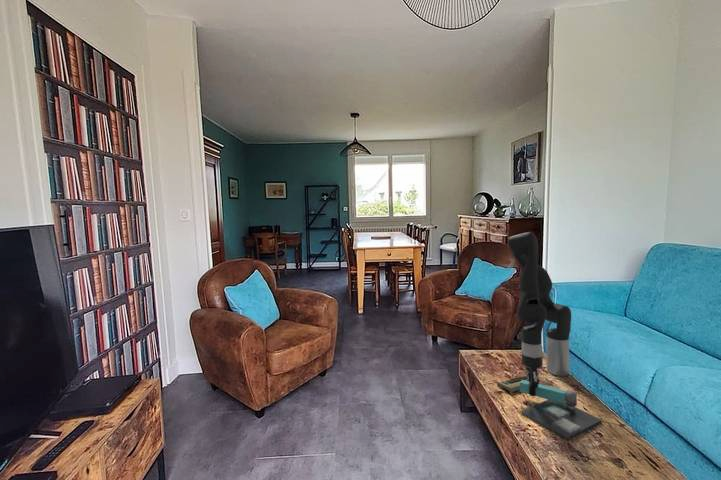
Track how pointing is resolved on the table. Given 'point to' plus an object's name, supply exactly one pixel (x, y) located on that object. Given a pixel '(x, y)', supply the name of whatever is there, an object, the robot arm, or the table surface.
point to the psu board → (561, 418)
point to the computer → (511, 384)
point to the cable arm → (551, 393)
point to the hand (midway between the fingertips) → (532, 395)
